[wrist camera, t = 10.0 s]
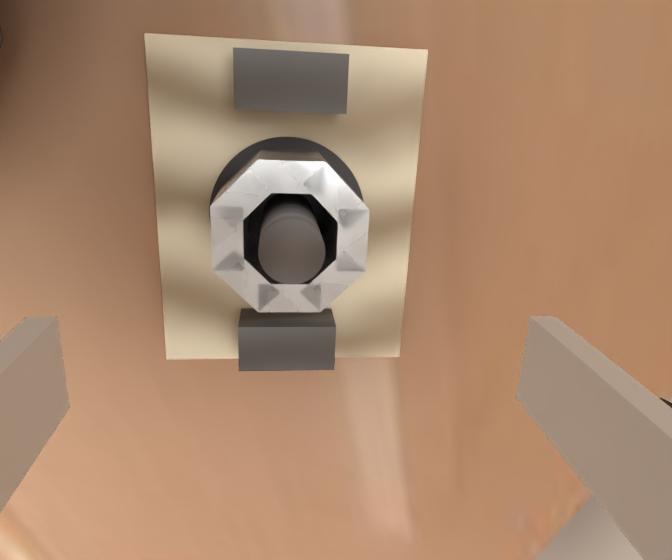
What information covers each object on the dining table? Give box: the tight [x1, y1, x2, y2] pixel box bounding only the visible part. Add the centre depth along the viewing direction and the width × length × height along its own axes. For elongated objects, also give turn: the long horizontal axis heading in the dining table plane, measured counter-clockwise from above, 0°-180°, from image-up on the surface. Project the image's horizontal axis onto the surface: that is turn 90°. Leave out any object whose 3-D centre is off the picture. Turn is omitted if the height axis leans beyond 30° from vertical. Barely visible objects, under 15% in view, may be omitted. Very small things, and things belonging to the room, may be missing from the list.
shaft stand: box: [144, 33, 428, 371], centre depth 30 cm, size 20×16×10 cm
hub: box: [210, 148, 370, 312], centre depth 30 cm, size 8×8×6 cm
